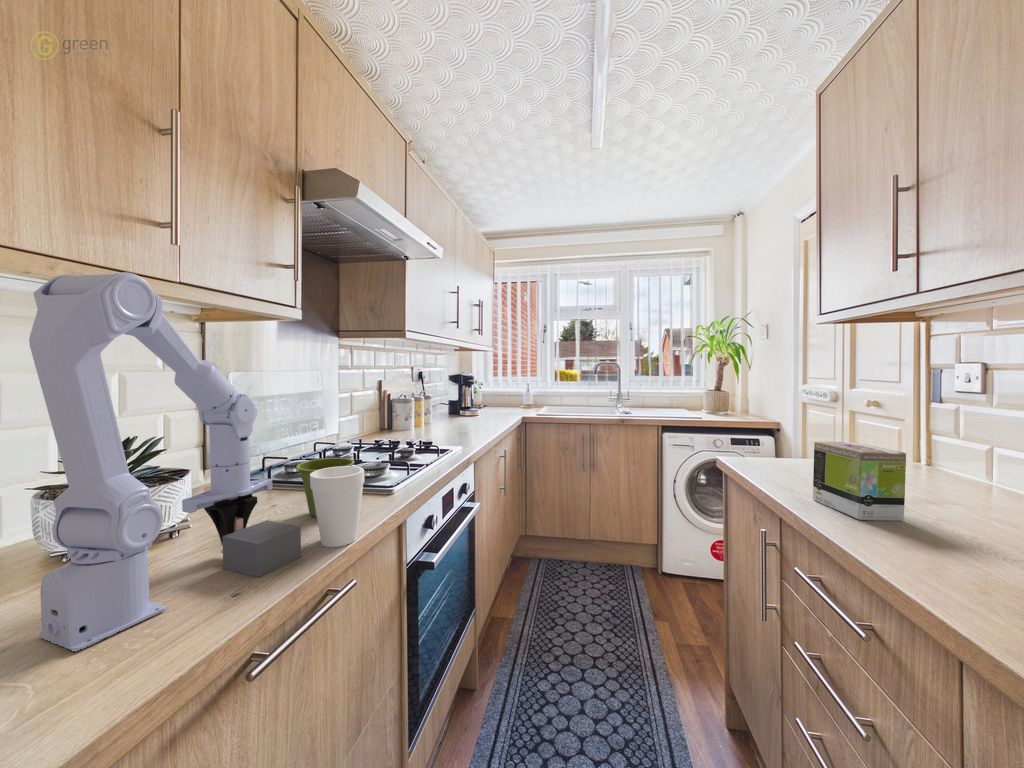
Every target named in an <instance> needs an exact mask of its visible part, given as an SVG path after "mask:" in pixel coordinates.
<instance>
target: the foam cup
mask: <svg viewBox="0 0 1024 768" xmlns="http://www.w3.org/2000/svg"><path fill="white" fill-rule="evenodd" d="M364 483H365V470H364V468H363V467H361V466H355V465H352V466H338V467H330V468H324V469H320V470H316V471H314V472H312V473H310V487H311V489H312V492H313V497H314V503H315V509H316V515H317V517H316V519H317V527H318V531H319V536H320V542H321V545H322V546H323V547H326V548H327V547H328V548H337V547H344V546H347V544H348V545H351V544H353V543H354V542H356V541H357V539H358V535H359V534H358V533H359V525H360V516H361V509H362V508H361V507H362V499H363V498H362V497H363V490H364V489H363V488H364Z"/></svg>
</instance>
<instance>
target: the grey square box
mask: <svg viewBox="0 0 1024 768" xmlns="http://www.w3.org/2000/svg"><path fill="white" fill-rule="evenodd" d="M301 529H302V528H301V525H297V524H291V523H285V522H280V521H279V522H278V521H274V520H268V519H267V520H264V521H260V522H259V523H255V524H254V525H250V526H246V528H244V529H241V530H239V531H236V532H233V533H231V534H228V535H225V536H222V538H223V546H222V550H223V554H222V568H223V570H227V571H231V572H236V573H240V574H243V575H248V576H251V577H254V578H255V577H256V578H260V577H263V576H264V575H266V574H269V573H271V572H273V571H275V570H277V569H278V568H281V567H283V566H285V565H288V564H290V563H291V562H293V561H296V560H297V559H299V558H301V557H302V544H301V543H302V538H301V537H302V534H301V532H302V531H301Z"/></svg>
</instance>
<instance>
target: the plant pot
mask: <svg viewBox="0 0 1024 768" xmlns="http://www.w3.org/2000/svg"><path fill="white" fill-rule="evenodd" d="M354 464H355V460H354V459H351V458H347V457H325V458H317V459H312V460H311V459H310V460H307V461H304V462H301V463H298V464H297V465H296V469H297V470H298V471H299V474H300V478H301V480H302V484H303V488H304V492H305V493H304V494H305V497H306V503H307V508H308V512H309V515H310V516H311V517H312V516H313V517H314V518H317V515H316V509H315V503H314V497H313V492H312V489H311V487H310V473H312V472H314V471H316V470H320V469H324V468H330V467H338V466H354Z"/></svg>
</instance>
